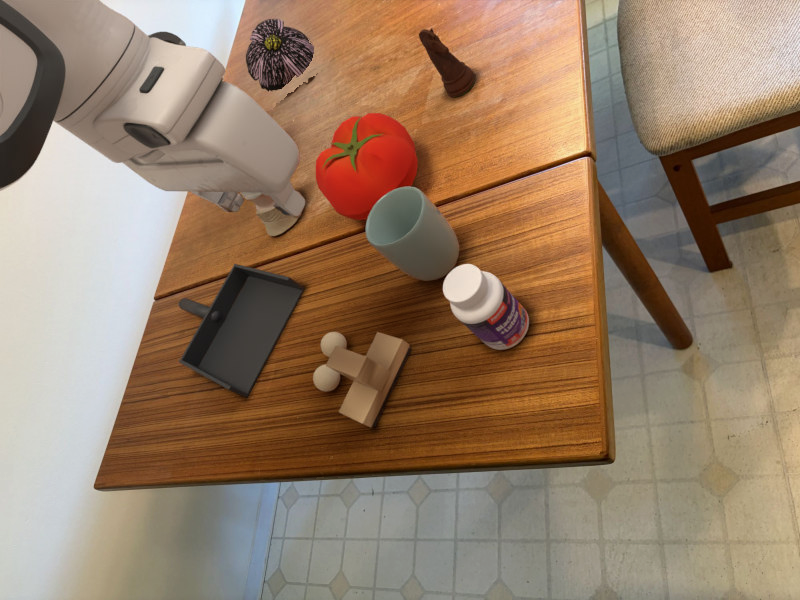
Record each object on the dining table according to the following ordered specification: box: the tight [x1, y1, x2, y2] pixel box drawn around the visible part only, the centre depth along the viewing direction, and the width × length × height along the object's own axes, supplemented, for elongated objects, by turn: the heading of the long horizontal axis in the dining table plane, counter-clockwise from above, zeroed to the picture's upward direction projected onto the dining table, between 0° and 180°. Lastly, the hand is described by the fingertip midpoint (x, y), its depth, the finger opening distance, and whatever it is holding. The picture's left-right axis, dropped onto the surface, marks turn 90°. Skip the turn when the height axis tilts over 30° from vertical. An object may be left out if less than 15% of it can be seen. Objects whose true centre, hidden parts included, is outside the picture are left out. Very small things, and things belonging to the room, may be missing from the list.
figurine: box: [240, 190, 306, 237], centre depth 83 cm, size 9×8×20 cm
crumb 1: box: [320, 331, 348, 358], centre depth 68 cm, size 3×3×3 cm
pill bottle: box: [442, 263, 530, 351], centre depth 54 cm, size 5×5×10 cm
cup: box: [364, 186, 460, 282], centre depth 63 cm, size 8×8×10 cm
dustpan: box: [178, 263, 306, 399], centre depth 85 cm, size 26×17×3 cm, turn 61°
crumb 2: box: [312, 363, 341, 392], centre depth 66 cm, size 3×3×3 cm
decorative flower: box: [245, 18, 315, 92], centre depth 109 cm, size 15×12×15 cm
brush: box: [325, 331, 412, 428], centre depth 61 cm, size 10×5×7 cm, turn 151°
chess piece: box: [418, 27, 476, 98], centre depth 77 cm, size 5×5×10 cm
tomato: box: [315, 112, 419, 221], centre depth 76 cm, size 14×16×10 cm
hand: (265, 207), depth 51 cm, fingers open, 8 cm apart
